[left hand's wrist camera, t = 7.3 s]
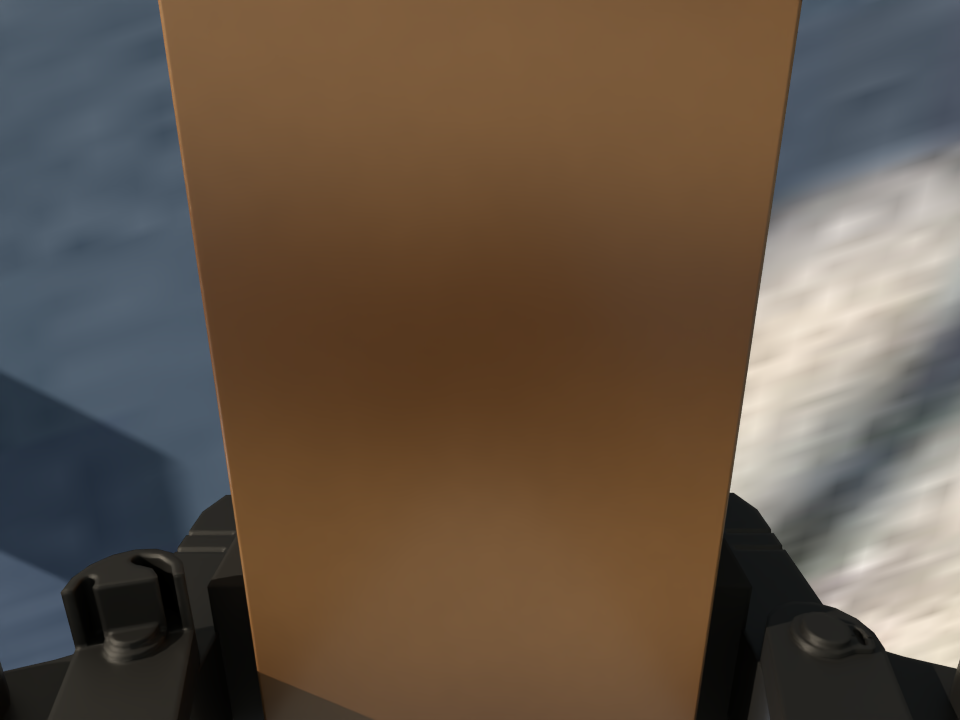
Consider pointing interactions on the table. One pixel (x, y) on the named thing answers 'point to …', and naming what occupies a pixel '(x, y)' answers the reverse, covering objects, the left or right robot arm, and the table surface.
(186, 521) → the table surface
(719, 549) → the beam
